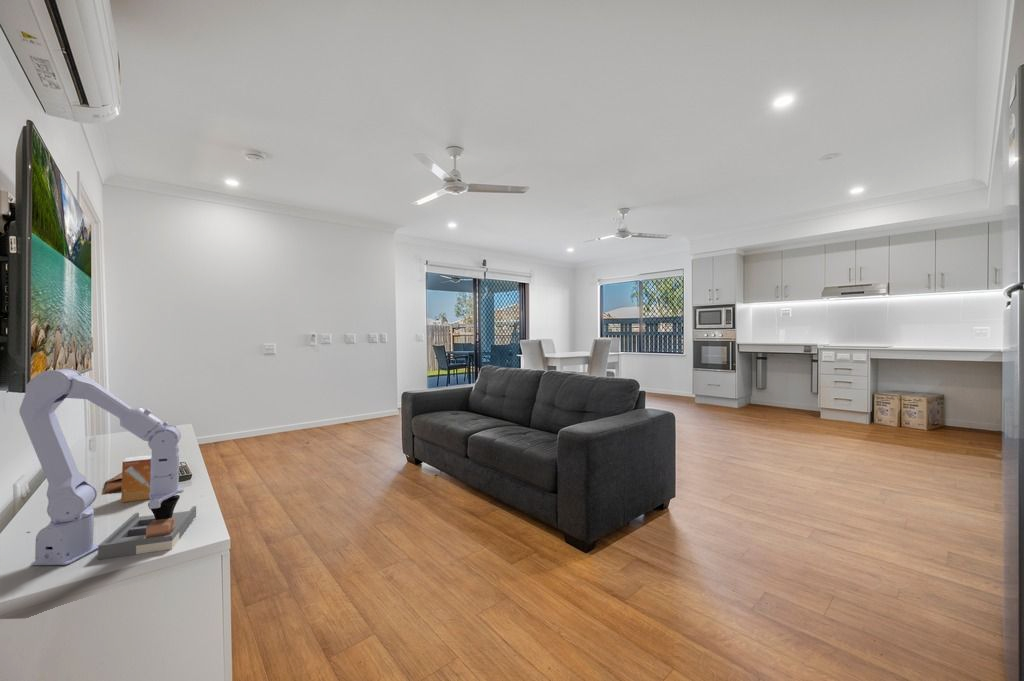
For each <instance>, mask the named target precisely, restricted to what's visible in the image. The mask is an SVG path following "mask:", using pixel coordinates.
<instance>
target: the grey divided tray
mask: <svg viewBox="0 0 1024 681" xmlns="http://www.w3.org/2000/svg"><path fill="white" fill-rule="evenodd" d="M195 517H196V518H197V506H196V505H194V506H193V505H192V507H191V508H190V510H186V511H179V512H178V511H177V512H173V515H172V518H175V526H174V530H173V531H172V533H171V534H170V535H166V536H159V537H151V538H146V527H147V526H148V525H149V524H150V523H151V522H152V521H153V520H155V516H154V514H152V515H143V516H140V512H134V514H132V515H131V516H130V517H129V518H128V519H127V520H125V521H124V522H123V523H122V524H121V525H120V526H119V527H118V528H117V529H116V530H114V531H113V532H112V533H111V534H109V536H108V537H107V538H105V539H104V540H103V541H102V542H101V543H99V544H100V545H99V546H98V549H97V560H104V559H111V558H113V559H114V558H118V557H119V558H120V557H125V556H132V555H133V556H134V555H139V554H145V553H146V554H147V553H152V552H160V551H161V552H162V551H168V550H173V549H174V547H175V546H176V544H177V543H178V541H179V540H180V539H181V537H182V536H183V535H185V533H186V532H187V530H188V529H189V527H190V526H191V525H192V523H193V522H194V521H193V519H194V518H195ZM196 518H195V519H196ZM195 519H194V520H195ZM192 521H193V522H192ZM191 522H192V523H191ZM190 524H191V525H190ZM189 525H190V526H189ZM187 528H188V529H187ZM186 529H187V530H186ZM184 532H185V533H184Z"/></svg>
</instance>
